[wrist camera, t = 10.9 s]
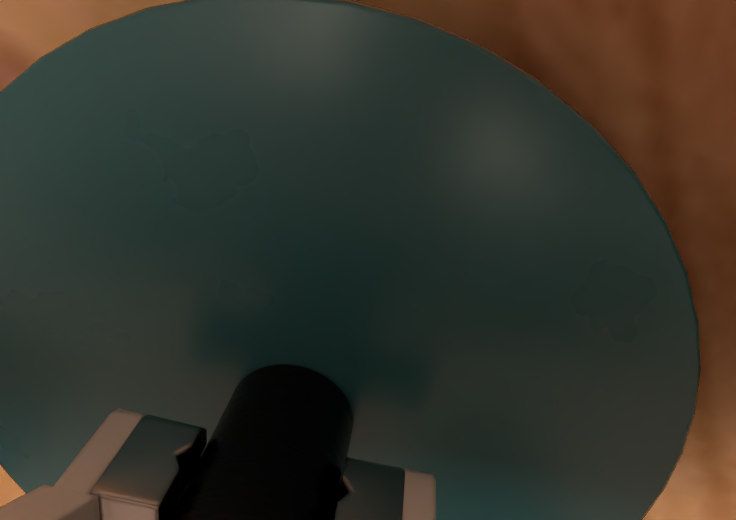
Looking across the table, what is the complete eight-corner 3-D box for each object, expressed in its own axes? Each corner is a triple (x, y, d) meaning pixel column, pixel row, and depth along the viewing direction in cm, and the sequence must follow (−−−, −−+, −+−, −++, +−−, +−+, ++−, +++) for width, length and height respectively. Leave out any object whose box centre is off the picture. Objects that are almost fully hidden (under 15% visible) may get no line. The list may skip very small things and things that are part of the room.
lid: (-101, -87, 8) (-940, -216, 3) (839, 91, 8) (1555, 258, 3) (22, 523, 15) (-191, 795, 10) (537, 635, 15) (591, 977, 10)
